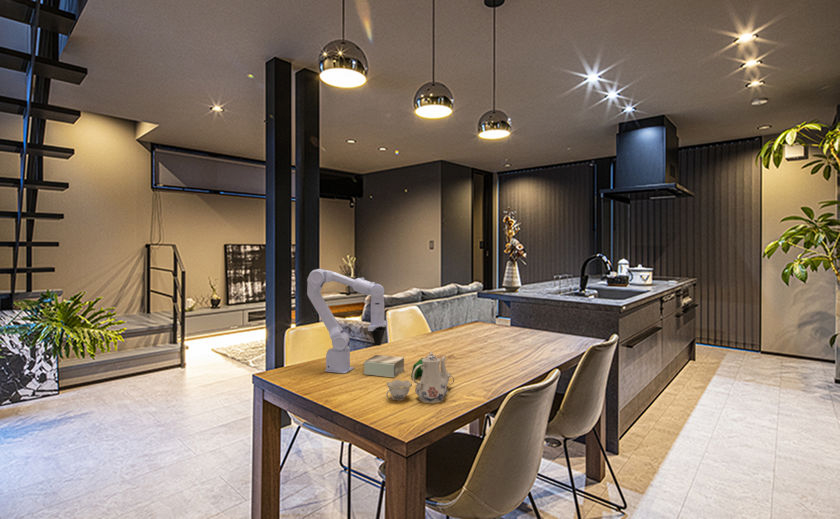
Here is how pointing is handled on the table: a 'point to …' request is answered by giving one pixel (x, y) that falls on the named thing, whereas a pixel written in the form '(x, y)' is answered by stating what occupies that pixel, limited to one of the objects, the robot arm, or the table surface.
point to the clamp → (419, 370)
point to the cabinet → (389, 362)
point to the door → (379, 369)
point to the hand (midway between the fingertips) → (377, 345)
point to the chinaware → (424, 382)
